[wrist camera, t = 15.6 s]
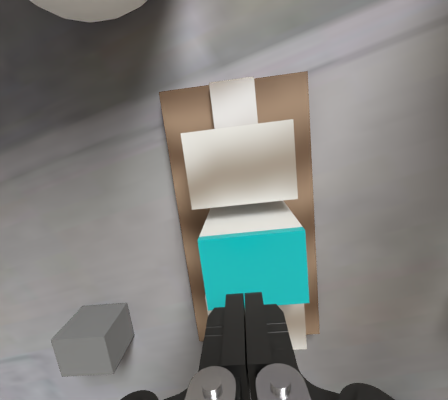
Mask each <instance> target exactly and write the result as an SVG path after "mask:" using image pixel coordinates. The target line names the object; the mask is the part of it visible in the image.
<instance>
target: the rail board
mask: <svg viewBox="0 0 448 400" xmlns="http://www.w3.org/2000/svg"><path fill="white" fill-rule="evenodd" d="M159 96H160V102H161V108H162V115H163V121H164V127H165V133H166V139H167V145H168V151H169V157H170V164H171V170H172V176H173V182H174V188H175V194H176V200H177V207H178V213H179V219H180V225H181V231H182V237H183V243H184V250H185V256H186V262H187V268H188V274H189V280H190V286H191V292H192V299H193V305H194V311H195V317H196V323H197V329H198V335H199V341H204V337H205V330H206V324H207V318H208V315H209V314H210V313H211V311H212V310H209V311H208V307H207V300H206V294H205V287H204V280H203V274H202V267H201V261H200V254H199V248H198V241H197V240H198V238H199V235H200V233H201V231H202V228H203V226H204V223H205V221H206V218H207V216H208V213H209V211H210V208H215V207H224V206H234V205H244V204H254V203H263V202H273V201H284V202H285V204H286V205H287V206H288V208H289V209H290V210H291V212H292V213H293V214H294V216H295V217H296V218H297V220H298V221H299V222H300V224H301V225H302V227H303V228H304V229H305V234H306V251H307V268H308V286H309V303H303V304H290V305H278V307H279V308H280V309H281V310H282V311H283V312H284V316H285V320H286V324H287V328H288V332H289V336H290V339H291V343H292V347H293V350H297V349H307V343H306V335H308V334H320V333H319V311H318V289H317V268H316V246H315V224H314V202H313V181H312V159H311V137H310V116H309V94H308V72H307V71H306V72H298V73H291V74H284V75H277V76H270V77H263V78H256V79H254V77H246V78H239V79H232V80H225V81H218V82H211V83H209V85H206V86H199V87H191V88H184V89H177V90H170V91H163V92H159Z"/></svg>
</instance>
